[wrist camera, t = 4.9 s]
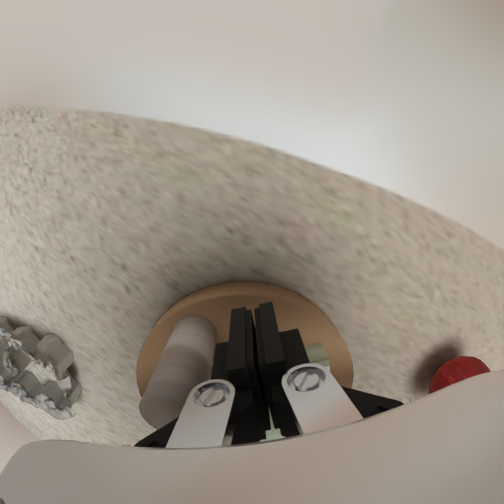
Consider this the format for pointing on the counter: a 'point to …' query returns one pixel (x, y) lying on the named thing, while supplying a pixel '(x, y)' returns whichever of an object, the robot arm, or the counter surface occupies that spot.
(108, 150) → the counter surface
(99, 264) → the counter surface
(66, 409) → the egg carton
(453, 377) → the onion
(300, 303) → the disc
